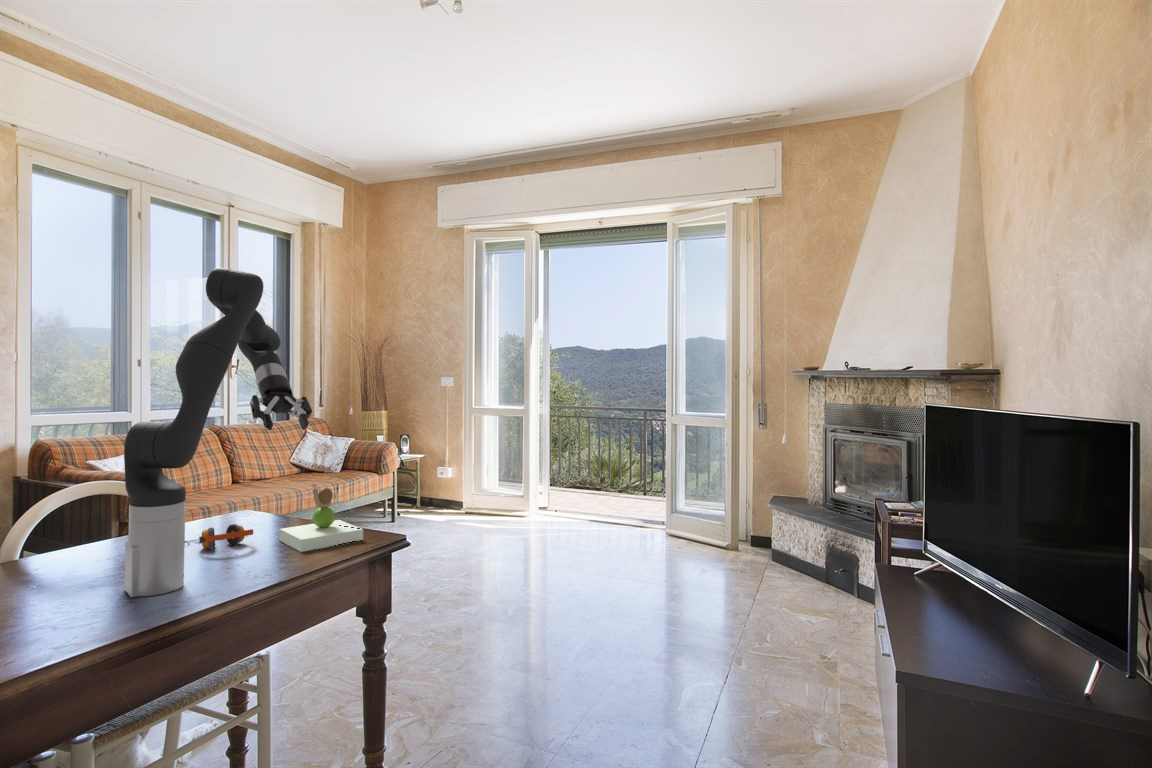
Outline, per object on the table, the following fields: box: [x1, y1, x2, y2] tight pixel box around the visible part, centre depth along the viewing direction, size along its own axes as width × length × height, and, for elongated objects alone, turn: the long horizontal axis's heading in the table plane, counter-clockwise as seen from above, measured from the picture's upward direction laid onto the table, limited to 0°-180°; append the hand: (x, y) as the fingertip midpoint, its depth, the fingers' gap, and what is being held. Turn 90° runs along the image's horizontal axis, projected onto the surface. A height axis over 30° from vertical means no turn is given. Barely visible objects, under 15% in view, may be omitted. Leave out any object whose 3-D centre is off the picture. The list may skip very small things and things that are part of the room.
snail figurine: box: [312, 483, 336, 528], centre depth 159 cm, size 5×6×12 cm
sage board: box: [278, 519, 364, 553], centre depth 157 cm, size 16×14×3 cm
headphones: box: [185, 523, 254, 550], centre depth 151 cm, size 16×5×20 cm
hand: (288, 427), depth 155 cm, fingers open, 8 cm apart
